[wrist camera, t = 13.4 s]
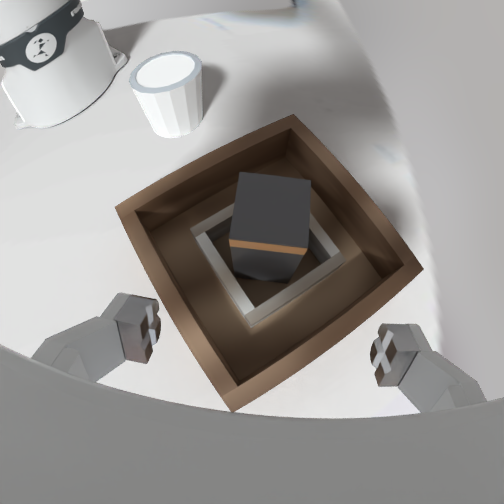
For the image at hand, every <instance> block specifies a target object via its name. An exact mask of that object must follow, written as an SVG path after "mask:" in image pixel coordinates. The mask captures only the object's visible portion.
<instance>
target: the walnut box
mask: <svg viewBox="0 0 504 504" xmlns="http://www.w3.org/2000/svg"><path fill="white" fill-rule="evenodd" d="M240 172H247V173H257V174H266V175H274V176H283V177H290V178H298V179H305V180H311V198H310V223H309V242H308V249H307V251H306V253H305V254H304V256H303V258H302V259H301V261H300V263H299V265H298V267H297V268H296V270H295V272H294V274H293V275H292V277H291V279H290V281H289V283H288V284H287V283H278V282H270V281H261V280H252V279H244V278H236V277H235V275H234V268H233V262H232V255H231V249H230V243H229V234H230V228H231V221H232V215H233V209H234V203H235V197H236V191H237V185H238V179H239V173H240ZM115 209H116V211H117V213H118V216H119V218H120V220H121V222H122V224H123V226H124V229H125V231H126V233H127V235H128V237H129V239H130V241H131V243H132V245H133V247H134V249H135V251H136V253H137V255H138V257H139V259H140V261H141V263H142V265H143V267H144V269H145V271H146V273H147V275H148V277H149V279H150V281H151V282H152V284H153V286H154V288H155V290H156V292H157V294H158V295H159V297H160V299H161V301H162V303H163V304H164V306H165V308H166V310H167V312H168V313H169V315H170V317H171V319H172V320H173V322H174V324H175V325H176V327H177V329H178V330H179V332H180V334H181V336H182V337H183V339H184V341H185V342H186V344H187V345H188V347H189V349H190V350H191V352H192V354H193V355H194V357H195V358H196V360H197V362H198V363H199V365H200V366H201V368H202V369H203V371H204V372H205V374H206V376H207V377H208V379H209V380H210V382H211V383H212V385H213V386H214V388H215V389H216V391H217V392H218V394H219V395H220V396H221V398H222V399H223V401H224V402H225V404H226V405H227V407H228V408H229V409H230V411H231V412H235V411H236V410H238V409H240V408H242V407H243V406H245V405H247V404H248V403H250V402H251V401H253V400H255V399H256V398H258V397H260V396H261V395H263V394H264V393H266V392H268V391H269V390H271V389H272V388H274V387H275V386H277V385H278V384H280V383H281V382H283V381H284V380H286V379H287V378H289V377H290V376H292V375H293V374H295V373H296V372H298V371H299V370H301V369H302V368H304V367H305V366H306V365H308V364H309V363H311V362H312V361H313V360H315V359H316V358H318V357H319V356H320V355H322V354H323V353H325V352H326V351H327V350H329V349H330V348H331V347H333V346H334V345H335V344H337V343H338V342H339V341H340V340H342V339H343V338H344V337H346V336H347V335H348V334H350V333H351V332H352V331H353V330H355V329H356V328H357V327H358V326H360V325H361V324H362V323H363V322H365V321H366V320H367V319H368V318H369V317H371V316H372V315H373V314H374V313H375V312H377V311H378V310H379V309H380V308H381V307H383V306H384V305H385V304H386V303H387V302H388V301H389V300H391V299H392V298H393V297H394V296H395V295H396V294H397V293H399V292H400V291H401V290H402V289H403V288H404V287H405V286H406V285H407V284H408V283H410V282H411V281H412V280H413V279H414V278H415V277H416V276H417V275H418V274H419V273H420V272H421V271H422V270H423V267H422V266H421V264H420V263H419V261H418V260H417V259H416V257H415V256H414V254H413V253H412V251H411V250H410V249H409V247H408V246H407V244H406V243H405V242H404V240H403V239H402V238H401V236H400V235H399V234H398V232H397V231H396V230H395V228H394V227H393V226H392V224H391V223H390V222H389V220H388V219H387V218H386V217H385V215H384V214H383V213H382V212H381V210H380V209H379V208H378V207H377V205H376V204H375V203H374V202H373V200H372V199H371V198H370V197H369V195H368V194H367V193H366V192H365V191H364V189H363V188H362V187H361V186H360V185H359V184H358V182H357V181H356V180H355V179H354V178H353V177H352V175H351V174H350V173H349V172H348V171H347V170H346V169H345V168H344V166H343V165H342V164H341V163H340V162H339V161H338V160H337V159H336V158H335V156H334V155H333V154H332V153H331V152H330V151H329V150H328V149H327V148H326V147H325V146H324V145H323V144H322V143H321V141H320V140H319V139H318V138H317V137H316V136H315V135H314V134H313V133H312V132H311V131H310V130H309V129H308V128H307V127H306V126H305V125H304V124H303V123H302V122H301V121H300V120H299V119H298V118H297V117H296V116H295V115H294V114H292V115H290V116H288V117H285V118H283V119H281V120H278V121H276V122H274V123H271V124H269V125H267V126H265V127H262V128H260V129H258V130H256V131H253V132H251V133H249V134H247V135H245V136H243V137H241V138H238V139H236V140H234V141H232V142H230V143H228V144H226V145H224V146H222V147H220V148H218V149H216V150H214V151H212V152H210V153H208V154H206V155H204V156H202V157H200V158H198V159H197V160H195V161H193V162H191V163H189V164H187V165H185V166H183V167H182V168H180V169H178V170H176V171H174V172H173V173H171V174H169V175H167V176H165V177H164V178H162V179H160V180H158V181H157V182H155V183H153V184H151V185H150V186H148V187H146V188H145V189H143V190H141V191H140V192H138V193H136V194H135V195H133V196H131V197H130V198H128V199H127V200H125V201H123V202H122V203H120V204H119V205H117V206H115Z"/></svg>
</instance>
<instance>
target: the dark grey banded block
mask: <svg viewBox="0 0 504 504" xmlns="http://www.w3.org/2000/svg"><path fill="white" fill-rule="evenodd" d="M310 198H311V180H305V179H298V178H290V177H283V176H274V175H266V174H257V173H247V172H240V173H239V179H238V185H237V191H236V197H235V203H234V209H233V215H232V221H231V228H230V234H229V243H230V249H231V255H232V262H233V268H234V275H235V277H236V278H244V279H252V280H261V281H270V282H278V283H287V284H288V283H289V281H290V279H291V277H292V275H293V274H294V272H295V270H296V268H297V267H298V265H299V263H300V261H301V259H302V258H303V256H304V254H305V253H306V251H307V249H308V242H309V223H310Z"/></svg>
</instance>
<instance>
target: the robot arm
mask: <svg viewBox="0 0 504 504" xmlns="http://www.w3.org/2000/svg"><path fill="white" fill-rule="evenodd" d="M83 15H84V12H83V9H82V7H81V1H80V0H0V63H1V65H2V67H5V73H4V76H3V81H2V83H1V84H2V87H3V89H4V91H5V93H6V94H7V96H8V98H9V99H10V101H11V103H12V104H13V106H14V107H15V109H16V110H17V113H16V117H15V121H14V125H15V126H16V128H17V129H23V128H26V127H35V128H47V127H51V126H54V125H57V124H60V123H62V122H64V121H66V120H68V119H70V118H71V117H73V116H75V115H76V114H78V113H80V112H81V111H82V110H84V109H85V108H87V107H88V106H89V105H90V104H92V103H93V102H94V101H95V100H96V99H97V98H98V97H99V96H100V95H101V94H102V93H103V92H104V91H105V90H106V88H107V87H108V86H109V84H110V83H111V81H112V79H113V77H114V75H115V73H116V72H117V71H118V70H119V69H120V68H121V67H122V66H123V65H124V64H125V63H126V62H127V60H128V59H127V57H126V55H125V54H124V53H122V52H120V51H118V50H117V49H115V48H113V47H111V46H109V45H108V43H107V40H106V38H105V35H104V33H103V30H102V28H101V25H100V23H99V22H95V21H94V20H88V19H86V18H85V17H83ZM158 311H159V303H158V301H157V299H152V298H147V297H142V296H137V295H131V294H126V293H118V294H117V295H116V296H115V297H114V299H113V300H112V301H111V303H110V304H109V305H108V307H107V308H106V309H105V311H104V312H103V313H102V315H101V316H100V317H94V318H92V319H90V320H87V321H85V322H83V323H80V324H78V325H76V326H74V327H71V328H69V329H67V330H65V331H62V332H60V333H58V334H56V335H53V336H51V337H49V338H47V339H45V341H44V342H43V343H42V345H41V346H40V347H39V348H38V350H37V351H36V352H35V353H34V355H33V356H32V357H31V358H29V357H27V356H24V355H22V354H20V353H18V352H15V351H13V350H11V349H9V348H7V347H5V346H3V345H1V344H0V504H504V398H499V399H495V400H492V401H486V398H485V397H484V394H483V392H482V390H481V388H480V386H479V384H478V383H477V381H476V380H474V379H473V378H472V377H470V376H469V375H468V374H466V373H465V372H464V371H462V370H461V369H460V368H458V367H457V366H455V365H454V364H453V363H451V362H450V361H449V360H447V359H446V358H444V357H443V356H442V355H440V354H439V353H438V352H436V351H432V349H431V347H430V345H429V343H428V341H427V339H426V338H425V336H424V334H423V332H422V330H421V328H420V326H419V325H417V324H382V325H381V326H380V327H379V330H378V334H379V337H378V338H377V339H376V340H374V342H373V344H372V347H371V352H370V359H371V363H372V365H373V366H374V367H375V368H376V371H375V377H376V380H377V384H378V387H386V386H398V388H399V389H400V390H401V391H402V392H403V394H404V395H405V396H406V397H407V398H408V399H409V400H410V401H411V402H412V403H413V405H414V406H415V407H416V408H417V409H418V410H419V411H420V412H421V413H418V414H409V415H399V416H387V417H372V418H335V419H331V418H293V417H276V416H264V415H253V414H244V413H235V412H227V411H220V410H213V409H207V408H201V407H195V406H189V405H184V404H179V403H174V402H169V401H164V400H160V399H155V398H151V397H147V396H143V395H139V394H135V393H131V392H127V391H123V390H120V389H116V388H113V387H109V386H106V385H103V384H99V383H96V381H98V380H99V379H101V378H102V377H103V376H105V375H106V374H108V373H109V372H111V371H112V370H113V369H115V368H116V367H118V366H119V365H120V364H122V363H123V362H125V360H130V361H135V362H140V363H145V364H147V363H148V361H149V359H150V356H151V354H152V352H153V349H152V345H154V344H156V343H157V341H158V339H159V335H160V331H161V321H160V318H159V317H158V315H157V312H158Z"/></svg>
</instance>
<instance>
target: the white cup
mask: <svg viewBox="0 0 504 504" xmlns="http://www.w3.org/2000/svg"><path fill="white" fill-rule="evenodd" d="M129 82H130V85H131V87H132V89H133V91H134V93H135V95H136V97H137V99H138V101H139V103H140V105H141V107H142V109H143V111H144V112H145V114H146V116H147V118H148V120H149V122H150V124H151V126H152V128H153V130H154V132H155V133H157V134H158V135H160V136H161V137H167V138H175V137H182V136H184V135H186V134H189V133H191V132H192V131H193V130H195V129H196V128H197V127H198V126H199V125H200V123H201V121H202V119H203V109H202V61H201V60H200V59H199V58H198V56H197V55H194V54H192V53H189V52H184V51H172V52H166V53H161V54H158V55H156V56H153V57H150V58H148V59H147V60H145V61H144V62H142V63H141V64H139V65H138V66H137V67H136V68H135V69H134V71H133V72H132V73H131V76H130V79H129Z"/></svg>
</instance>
